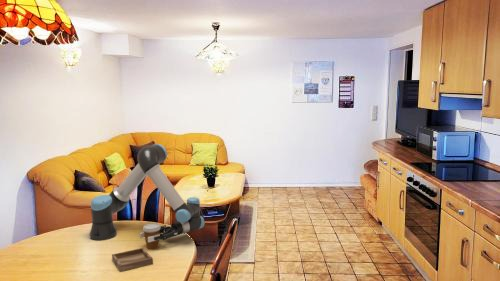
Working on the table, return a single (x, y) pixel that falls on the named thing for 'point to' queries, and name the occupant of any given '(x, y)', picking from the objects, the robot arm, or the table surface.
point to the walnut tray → (132, 259)
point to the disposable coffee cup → (151, 234)
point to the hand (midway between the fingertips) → (144, 237)
